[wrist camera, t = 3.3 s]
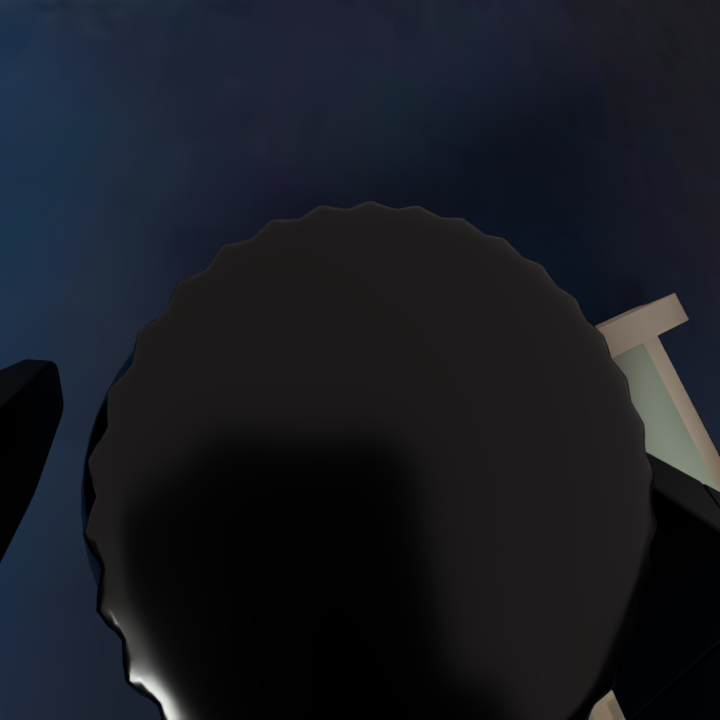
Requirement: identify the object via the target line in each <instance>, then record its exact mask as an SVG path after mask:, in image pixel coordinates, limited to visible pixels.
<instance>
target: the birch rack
mask: <svg viewBox="0 0 720 720" xmlns="http://www.w3.org/2000/svg"><path fill="white" fill-rule="evenodd" d="M687 320H689V319H688V317H687V315H686V314H685V312H684V310H683V308H682V306H681V304H680V302H679V300H678V298H677V296H676V294H675V293H674V294H671V295H668V296H666V297H663V298H661V299H658V300H656V301H653V302H650V303H648V304H645V305H643V306H642V305H641V306H638V307H636V308H633V309H631V310H628V311H626V312H624V313H622V314H620V315H618V316H615V317H613V318H611V319H609V320H607V321H605V322H602V323H600V324H598V325H596V326H595V327H596V328H597V329H598V330H599V331H600V332H601V333H602V334H603V335H604V337H605V339H606V342H607V345H608V348H609V351H610V354H611V357H612V360H613V361H614V362H615V363H616V364H617V366H618V367H619V368H620V369H621V371H622V372H623V373H624V375H625V376H626V377H627V379H628V384H629V389H630V396H631V401H632V404H633V405H634V407H635V409H636V410H637V412H638V413H639V415H640V417H641V419H642V421H643V423H644V424H645V450H646V452H647V453H649V454H651V455H653V456H655V457H657V458H658V459H660V460H662V461H664V462H666V463H668V464H669V465H671V466H673V467H675V468H677V469H679V470H680V471H682V472H684V473H686V474H688V475H690V476H691V477H693V478H695V479H697V480H699V481H700V482H701V483H702V484H706V485H708V486H710V487H712V488H714V489H715V490H717V491H719V492H720V457H719V455H718V453H717V451H716V449H715V447H714V445H713V443H712V441H711V439H710V437H709V435H708V433H707V431H706V430H705V428H704V426H703V424H702V422H701V420H700V418H699V416H698V414H697V412H696V410H695V408H694V406H693V404H692V402H691V400H690V398H689V396H688V394H687V393H686V391H685V389H684V387H683V385H682V383H681V381H680V379H679V377H678V375H677V373H676V371H675V369H674V367H673V365H672V363H671V361H670V359H669V358H668V356H667V354H666V352H665V350H664V348H663V346H662V344H661V342H660V340H659V338H658V335H660V334H662V333H664V332H665V331H667V330H669V329H671V328H673V327H675V326H677V325H679V324H681V323H683V322H685V321H687ZM589 720H625V718H624V716H623V713H622V711H621V709H620V707H619V705H618V702H617V700H616V698H615V696H614V694H613V691H612V690H611V691H610V692H609V693H608V694H607V695H606V696H604V697H603V698H602V699H601V700H600V701H598V702H597V703H596V704H595V705H594V707H593V710H592V712H591V714H590V716H589Z"/></svg>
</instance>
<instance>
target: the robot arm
mask: <svg viewBox="0 0 720 720" xmlns="http://www.w3.org/2000/svg"><path fill="white" fill-rule="evenodd" d="M62 413H63V395H62V389H61V383H60V377H59V371H58V368H57V366H56V364H55V363H54V362H52V361H46V360H30V359H28V360H23V361H21V362H18V363H16V364H14V365H11V366H9V367H7V368H5V369H2V370H0V562H1V560H2V558H3V556H4V554H5V552H6V550H7V548H8V546H9V544H10V542H11V540H12V538H13V536H14V534H15V532H16V530H17V528H18V526H19V524H20V522H21V520H22V518H23V516H24V514H25V512H26V510H27V508H28V506H29V504H30V502H31V500H32V497H33V495H34V493H35V490H36V488H37V485H38V483H39V480H40V477H41V474H42V471H43V468H44V465H45V463H46V460H47V457H48V454H49V451H50V448H51V445H52V442H53V439H54V437H55V434H56V431H57V428H58V425H59V422H60V419H61V416H62ZM646 453H647V452H646ZM647 455H648V458H649V460H650V462H651V465H652V468H653V470H654V473H655V477H654V487H653V493H652V499H651V500H652V505H653V510H654V512H655V517H656V522H657V529H656V533H655V537H654V540H653V543H652V546H651V549H650V558H651V570H652V581H651V583H650V586H649V588H648V590H647V592H646V594H645V596H644V598H643V600H642V602H641V603H640V614H639V617H640V621H639V631H638V635H637V636H636V638H635V639H634V641H633V642H632V644H631V645H630V646H629V648H628V649H627V650H626V651H625V653H624V654H623V655H622V658H621V662H620V666H619V673H618V677H617V681H616V685H615V687H614V688H613V689H612V691H613V694H614V696H615V698H616V700H617V702H618V705H619V707H620V709H621V711H622V713H623V716H624V718H625V720H720V492H719V491H717V490H715V489H714V488H712V487H710V486H708V485H706V484H702V483H701V482H700V481H699V480H697V479H695V478H693V477H691V476H690V475H688V474H686V473H684V472H682V471H680V470H679V469H677V468H675V467H673V466H671V465H669V464H668V463H666V462H664V461H662V460H660V459H658V458H657V457H655V456H653V455H651V454H649V453H647Z"/></svg>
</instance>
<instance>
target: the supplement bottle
mask: <svg viewBox="0 0 720 720" xmlns="http://www.w3.org/2000/svg"><path fill="white" fill-rule="evenodd" d="M654 477H655V473H654V470H653V468H652V465H651V462H650V460H649V458H648V455H647V453H646V450H645V424H644V423H643V421H642V419H641V417H640V415H639V413H638V412H637V410H636V409H635V407H634V405H633V404H632V401H631V396H630V389H629V384H628V379H627V377H626V376H625V375H624V373H623V372H622V371H621V369H620V368H619V367H618V366H617V364H616V363H615V362H614V361H613V360H612V357H611V354H610V351H609V348H608V345H607V342H606V339H605V337H604V335H603V334H602V333H601V332H600V331H599V330H598V329H597V328H596V327H595V326H593V325H592V324H591V323H590V322H589V321H588V320H587V319H586V317H585V315H584V313H583V311H582V308H581V306H580V305H579V303H578V301H577V299H576V298H575V297H574V296H572V295H571V294H570V293H568V292H567V291H565V290H564V289H562V288H560V287H559V286H557V285H556V283H555V282H554V281H553V279H552V278H551V276H550V274H549V273H548V272H547V270H546V269H545V267H544V266H543V265H541V264H539V263H537V262H535V261H533V260H530V259H528V258H525V257H523V256H522V255H521V254H520V253H519V252H518V251H517V250H516V249H515V248H514V247H513V246H512V245H511V244H510V243H509V242H508V241H507V240H506V239H505V238H502V237H498V236H494V235H489V234H484V233H483V232H481V231H480V230H479V229H478V228H476V227H475V226H474V225H472V224H471V223H470V222H468V221H467V220H465V219H464V218H455V217H440V216H438V215H436V214H434V213H432V212H431V211H429V210H427V209H425V208H423V207H421V206H419V205H417V206H408V207H403V208H398V209H395V208H391V207H388V206H386V205H384V204H381V203H377V202H374V201H368V202H365V203H362V204H359V205H357V206H354V207H352V208H350V209H345V208H338V207H335V206H325V205H321V206H319V207H317V208H315V209H313V210H312V211H310V212H309V213H307V214H306V215H304V216H303V217H302V218H288V219H275V220H271V221H269V222H268V223H267V224H266V225H265V226H264V227H263V228H261V230H260V231H259V232H258V233H257V234H256V235H255V236H254V237H253V238H252V239H248V240H245V241H237V242H234V243H230V244H227V245H224V246H222V247H221V249H220V250H219V251H218V253H217V254H216V255H215V257H214V258H213V260H212V262H211V264H210V265H209V267H208V269H206V270H204V271H201V272H199V273H197V274H194V275H192V276H190V277H188V278H186V279H185V280H183V281H181V282H179V283H177V285H176V287H175V289H174V291H173V294H172V296H171V299H170V302H169V305H168V308H167V311H166V312H165V313H164V314H162V315H161V316H160V317H159V318H157V319H155V320H153V321H151V322H150V323H149V324H148V325H146V326H145V327H144V328H143V329H141V330H140V331H139V332H138V335H137V339H136V343H135V347H134V351H133V352H132V353H131V355H130V356H129V357H128V359H127V360H126V362H125V363H124V364H123V366H122V367H121V369H120V370H119V372H118V373H117V375H116V377H115V379H114V380H113V382H112V384H111V386H110V387H109V389H108V391H107V393H106V395H105V398H104V400H103V402H102V404H101V406H100V409H99V411H98V413H97V416H96V419H95V422H94V425H93V428H92V431H91V434H90V437H89V442H88V447H87V451H86V456H85V460H84V468H83V477H82V486H81V515H82V525H83V536H84V541H85V545H86V550H87V555H88V559H89V564H90V567H91V570H92V573H93V576H94V579H95V581H96V584H97V587H98V590H97V608H96V611H97V612H98V614H99V615H100V616H101V618H102V619H103V620H104V622H105V623H106V624H107V626H108V627H109V628H111V629H112V630H113V631H115V632H116V633H117V635H118V636H119V637H120V639H121V640H122V651H123V668H124V674H125V681H126V683H127V684H128V685H129V686H131V687H132V688H133V689H134V690H135V691H137V692H138V693H139V694H140V695H142V696H144V697H147V698H149V699H150V700H151V701H152V702H154V703H155V704H156V705H157V706H158V708H159V712H160V716H161V720H589V716H590V714H591V712H592V710H593V707H594V705H595V704H596V703H597V702H598V701H600V700H601V699H602V698H603V697H604V696H606V695H607V694H608V693H609V692H610V691H611V690H612V689H613V688H614V687H615V685H616V681H617V677H618V673H619V666H620V662H621V658H622V655H623V654H624V653H625V651H626V650H627V649H628V648H629V646H630V645H631V644H632V642H633V641H634V639H635V638H636V636H637V635H638V631H639V621H640V617H639V614H640V603H641V602H642V600H643V598H644V596H645V594H646V592H647V590H648V588H649V586H650V583H651V581H652V570H651V558H650V549H651V546H652V543H653V540H654V537H655V533H656V529H657V522H656V517H655V512H654V510H653V505H652V500H651V499H652V493H653V487H654Z"/></svg>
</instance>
